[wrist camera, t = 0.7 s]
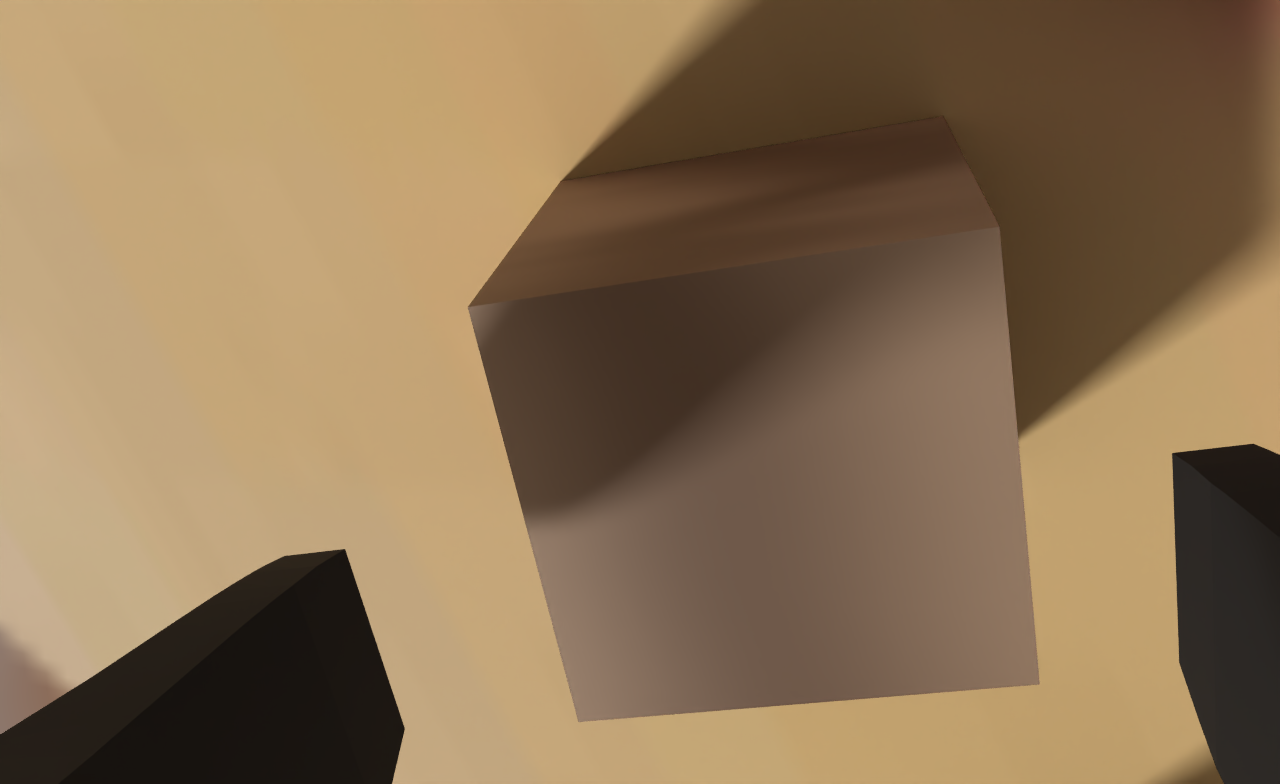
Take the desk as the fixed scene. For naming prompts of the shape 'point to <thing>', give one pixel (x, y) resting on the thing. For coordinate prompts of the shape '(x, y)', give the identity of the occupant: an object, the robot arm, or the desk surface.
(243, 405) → the desk surface
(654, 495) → the walnut cube
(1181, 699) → the desk surface
